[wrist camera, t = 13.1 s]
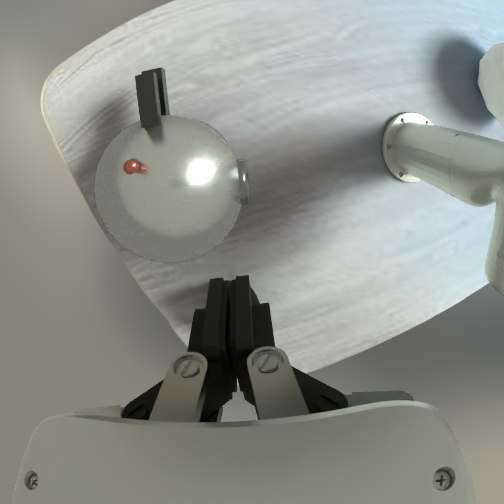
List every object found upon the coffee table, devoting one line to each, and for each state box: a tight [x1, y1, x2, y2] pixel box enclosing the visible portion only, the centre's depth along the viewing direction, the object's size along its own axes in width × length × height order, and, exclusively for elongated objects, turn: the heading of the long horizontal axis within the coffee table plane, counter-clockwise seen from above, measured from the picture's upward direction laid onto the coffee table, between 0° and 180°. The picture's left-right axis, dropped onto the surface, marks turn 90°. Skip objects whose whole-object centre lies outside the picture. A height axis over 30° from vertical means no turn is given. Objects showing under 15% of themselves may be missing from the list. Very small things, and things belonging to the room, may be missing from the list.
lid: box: [94, 72, 250, 263], centre depth 30 cm, size 19×23×2 cm
